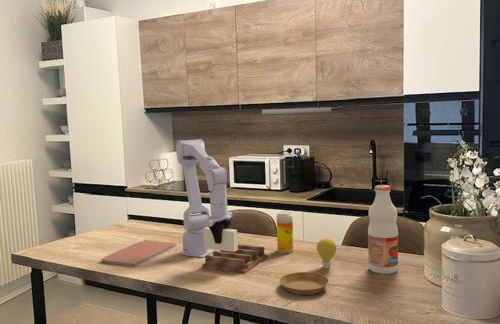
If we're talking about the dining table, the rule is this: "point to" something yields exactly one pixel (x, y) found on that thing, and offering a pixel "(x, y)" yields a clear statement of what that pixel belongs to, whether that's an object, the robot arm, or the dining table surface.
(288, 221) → the beer can
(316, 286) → the plant saucer
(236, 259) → the rack
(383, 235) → the fruit juice
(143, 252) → the notebook
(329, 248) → the light bulb
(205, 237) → the block
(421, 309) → the dining table surface
